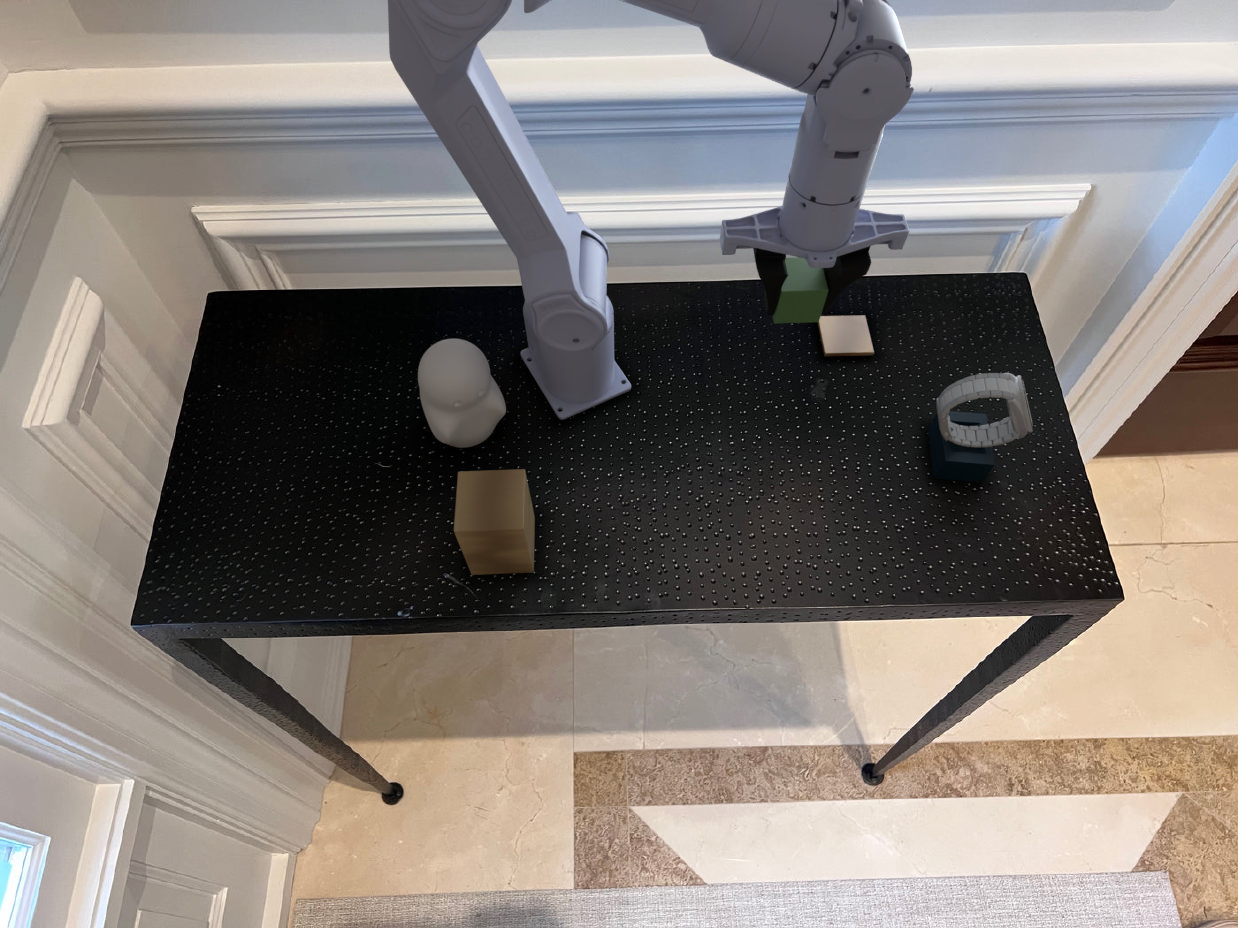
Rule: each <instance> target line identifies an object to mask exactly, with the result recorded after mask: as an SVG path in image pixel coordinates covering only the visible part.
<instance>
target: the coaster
mask: <svg viewBox="0 0 1238 928" xmlns="http://www.w3.org/2000/svg"><path fill="white" fill-rule="evenodd" d="M816 323H817V327H818V332H819V337H820V342H821V347H822V352H823V356H824V357H857V356H858V357H859V356H860V357H861V356H873V355H874V354H875V350H874V347H873V342H872V338H871V334H870V330H869V326H868V322H867V317H866V315H865V314H864V315H863V314H862V315H858V314H857V315H821V316H820V319H819V322H816Z"/></svg>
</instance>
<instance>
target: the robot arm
mask: <svg viewBox="0 0 1238 928" xmlns="http://www.w3.org/2000/svg"><path fill="white" fill-rule="evenodd" d="M619 1H620V2H623V3H626V4H628V5H629V4H630V5H632V6H635V7H638V8H640V9H644V10H647V11H650V12H653V13H656V14H659V15H662V16H664V17H668V18H670V19H673V20H676V21H678V22H681V23H684V24H688V25H690V26H694V27H697V28H698V29H699V30H700V31H701V33H702V35H703V38H704V41H705V44H706V48H707V49H708V52H709V54H710V55H711V56H712V57H714V58H716V59H719V60H721V61H723V62H726V63H728V64H731V65H733V66H734V67H735V66H736V67H738V68H741V69H742V70H745V71H748V72H750V73H752V74H755V75H757V76H760V77H762V78H765V79H767V80H769V81H772V82H774V83H777V84H779V85H781V86H784V87H787V88H790V89H791V90H794V91H797V92H799V93H802V94H806V95H807V96H806V99H805V105H804V108H803V112H802V114H801V117H800V120H799V125H798V130H797V135H796V139H795V144H794V149H793V154H792V158H791V163H790V168H789V172H788V176H787V181H786V187H785V191H784V196H783V201H782V205H780V206H777V207H774V208H770V209H766V210H764V211H760V212H756V213H753V214H751V215H747V216H743V217H740V218H732V219H722V220H721V227H720V235H719V241H720V242H719V243H720V249H721V255H722V256H733V255H735V254H736V252H737V250H744V249H747V250H749V249H752V250H753V256H754V261H755V262H754V263H755V267H756V272H757V274H758V276H759V279H760V281H761V283H762V285H763V304H764V309H765V315H766V316H772V315H774V313H775V310H776V307H777V304H778V299H779V294H780V291H781V288H782V286H783V284H784V282H785V280H786V278H787V277H788V272H787V267H786V262H785V259H786V258H787V256H791V257H800V258H804V259H806V260H807V263H808V265H809V266H810V267H811V268H823V269H824V273H825V277H826V281H827V286H828V290H829V291H828V294H827V297H826V300H825V304H824V307H823V310H822V313H821V315H822V314H823V315H825V314H826V313H827V311H828V310H829V308H831V306H832V305H833V303H834V302H835V301H836V300H837V298H838V297H839V296H840V295H841V294H842V293H843V292H844V291H845V290H846V289H847V288H848V287H849V286H851V284H853V283H854V282H856V281H857V280H859V279H860V278H862V277H865V276H866V275H867V274H868V272H869V270H870V268H871V265H872V259H871V255H870V248H871V247H872V246H876V245H887V247H888V249H889V250H891V251H892V250H896V251H897V250H903V249H904V247H905V244H906V241H907V238H908V236H909V234H910V229H909V226H908V223H907V219H906V216H905V214H899V213H897V214H896V213H895V214H894V213H885V212H879V211H874V210H870V209H865V208H861V204H862V201H863V198H864V195H865V192H866V189H867V188H868V187H867V186H868V184H869V180H870V176H871V175H872V171H873V168H874V165H875V162H876V158H877V156H878V155H877V154H878V151H879V149H880V145H881V144H882V139H883V136H884V131H885V128H886V124H887V123H888V122H889V121H891V120H892V119H894V118H895V117H896V116H897V115H898V114H899V113H900V112H901V111H902V110H903V109H904V108H905V106H906V105H907V104H908V102H910V99H911V98H912V96H913V93H914V91H915V90H914V89H915V88H914V87H913V86H912V85H911V82H912V78H913V77H912V76H913V66H912V61H911V60H912V59H911V58H910V54H909V51H908V48H907V44H906V42H905V39H904V35H903V33H902V32H903V31H902V29H901V26H900V22H899V19H898V17H897V14H896V12H895V11H894V9H893V7H892V5H891V4H890V2H888V0H619ZM512 2H513V0H387V18H388V48H389V49H388V53H389V59H390V61H391V63H392V66H393V68H394V70H395V71H396V73H397V74H398V77H400V79H401V81H402V82H403V84H404V86H405V87H406V88H407V90H408V92H409V93H410V94H411V96H412V98H413V99H414V101H415V102H416V104H417V106H418V107H419V108H420V110H421V112H422V113H423V114H424V116H425V118H426V119H427V121H428V123H429V124H430V125H431V127H432V129H433V130H434V132H435V134H436V136H437V137H438V138H439V140H440V141H441V143H442V144H443V146H444V147H445V149H446V151H447V153H448V154H449V156H450V157H451V158H452V160H453V161H454V163H455V165H456V166H457V168H458V169H459V171H460V172H461V174H462V175H463V177H464V178H465V179H464V180H466V182H467V184H468V185H469V187H470V189H472V191H473V193H474V195H475V196H476V198H477V199H478V201H479V202H480V204H481V205H482V207H483V208H484V210H485V211H486V213H487V214H488V216H489V218H490V219H491V221H492V223H494V225H495V227H496V228H497V230H498V232H499V233H500V235H501V236H502V238H503V239H504V241H505V242H506V244H507V246H508V247H509V249H510V250H511V252H512V253H513V255H514V256H515V258H516V263H517V265H518V272H519V276H520V282H521V287H522V294H523V298H524V303H523V306H522V314H523V321H524V327H525V333H526V334H525V335H526V341H527V346H528V347H526V348H524V349H522V350H521V351H520V352H519V354H520V357H521V359H522V361H523V362H524V364H525V365H526V368H527V369H528V370H529V372H530V374H531V376H532V377H533V379H534V381H535V382H536V384H537V386H538V387H539V389H540V391H541V392H542V393H543V395H544V397H545V399H546V400H547V402H548V403H549V406H550V407H551V409H552V410H553V412H554V413H555V415H556V416H557V418H558V419H559V420H562V421H563V420H566V419H568V418H571V417H573V416H575V415H578V414H580V413H582V412H584V411H587V410H589V409H591V408H594V407H596V406H598V405H600V404H603V403H605V402H607V401H610V400H612V399H615V398H616V397H619V396H621V395H623V394H625V393H627V392H630V391H631V389H632V384H631V382H630V381H629V380H628V378H627V377H626V375H625V374H624V372H623V370H622V369H621V368H620V366H619V365H618V363H617V362H616V360H615V311H614V307H613V303H612V302H611V299H610V298H609V296H608V295H607V293H608V292H607V291H608V289H607V286H608V264H609V261H610V250H609V246H608V245H607V243H606V241H605V240H604V239H603V238H602V237H601V236H600V235H599V234H598V233H596V232H595V231H593V230H592V229H590V228H589V227H588V226H587V225H586V223H585V222H584V220H583V219H582V217H581V215H580V213H579V212H577V211H567V210H566V209H565V207H564V205H563V203H562V201H561V199H560V197H559V196H558V194H557V192H556V189H555V188H554V186H553V184H552V182H551V181H550V179H549V177H548V175H547V173H546V171H545V169H544V168H543V166H542V163H541V162H540V160H539V158H538V156H537V154H536V152H535V150H534V148H533V146H532V145H531V143H530V141H529V139H528V137H527V136H526V133H525V132H524V130H523V128H522V126H521V124H520V122H519V120H518V118H517V117H516V115H515V113H514V112H513V109H512V107H511V106H510V103H509V102H508V100H507V98H506V96H505V94H504V92H503V91H502V89H501V87H500V84H499V83H498V81H497V80H496V79H497V78H496V77H495V75H494V74H493V72H492V70H491V68H490V66H489V63H488V62H487V61H486V58H485V56H484V55H483V53H482V52H481V50H480V48H479V46H478V44H479V42H480V41H481V40H482V39H483V38H484V37H485V36H487V34H488V33H490V32H491V30H493V29H494V28H495V27H496V26H497V25H498V24H499V23H500V21H501V20H502V19H503V18H504V16H505V15H506V14H507V12H508V11H509V8H510V7H511V4H512ZM550 2H552V0H523V12H524V14H530V13H533V12H536V11H537V10H539V9H540V8H542V7H543V6H545V5H547V4H548V3H550Z"/></svg>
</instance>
